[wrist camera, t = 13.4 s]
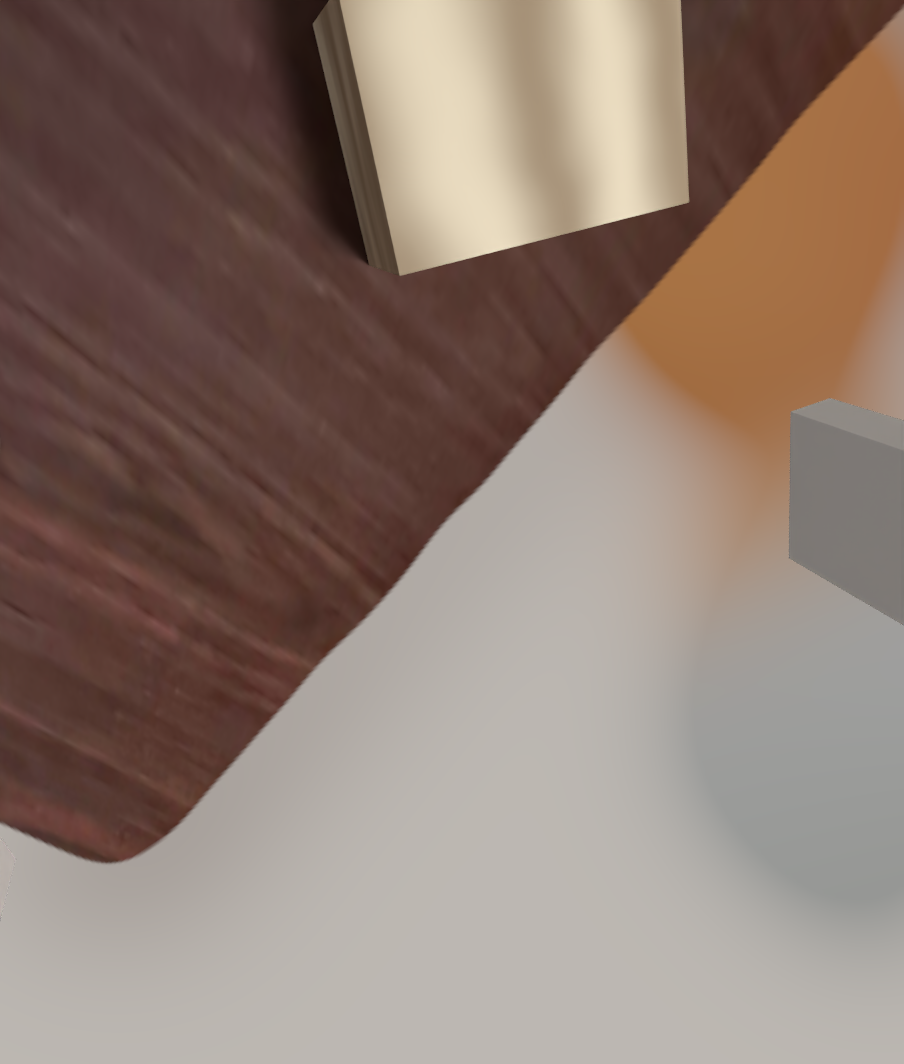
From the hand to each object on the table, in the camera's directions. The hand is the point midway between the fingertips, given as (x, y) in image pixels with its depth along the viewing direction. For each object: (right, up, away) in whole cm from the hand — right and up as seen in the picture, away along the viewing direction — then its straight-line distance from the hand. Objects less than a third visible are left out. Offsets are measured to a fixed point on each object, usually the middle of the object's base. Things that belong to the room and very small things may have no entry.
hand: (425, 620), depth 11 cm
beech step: (+2, +21, +24) cm, 32 cm away
